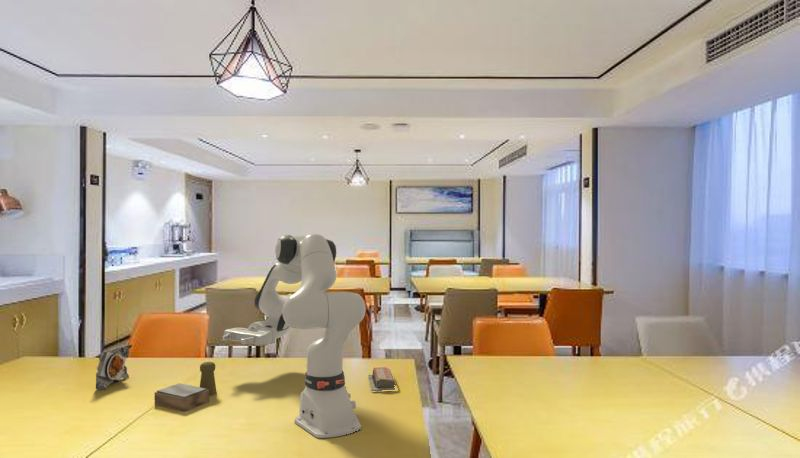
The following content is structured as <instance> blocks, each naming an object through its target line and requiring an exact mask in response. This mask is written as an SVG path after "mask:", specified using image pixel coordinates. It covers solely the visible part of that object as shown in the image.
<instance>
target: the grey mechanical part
mask: <svg viewBox="0 0 800 458" xmlns="http://www.w3.org/2000/svg"><path fill="white" fill-rule="evenodd" d="M132 347H133V345H132V344H128V345H124V346H119V347H114V348H112V349H108V350H103V351H102V353H100V354H99V355H98V356H97V357H98V360H99V361H98V365H97V367H96V370H97V372H96V373H95V390H97V391H106V388H108V386H109V385H110V384H112V383H113V382H116V381H117V382H118V381H119V382H120V381H121V379H123V380H124V379H127V378H130V375H129V374H128V367H127V366H126V365H125V364H126V361H127V359H128V357H129V355H130V349H131V348H132Z"/></svg>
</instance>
